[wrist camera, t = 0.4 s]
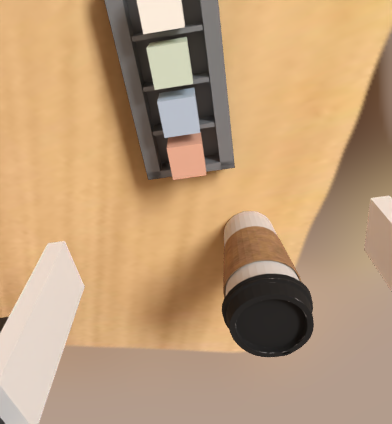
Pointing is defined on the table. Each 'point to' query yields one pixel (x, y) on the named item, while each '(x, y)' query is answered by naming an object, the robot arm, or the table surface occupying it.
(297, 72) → the table surface
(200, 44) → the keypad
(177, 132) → the key slate
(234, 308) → the coffee cup
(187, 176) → the key terracotta
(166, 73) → the key sage
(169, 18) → the key cream
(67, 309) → the robot arm
